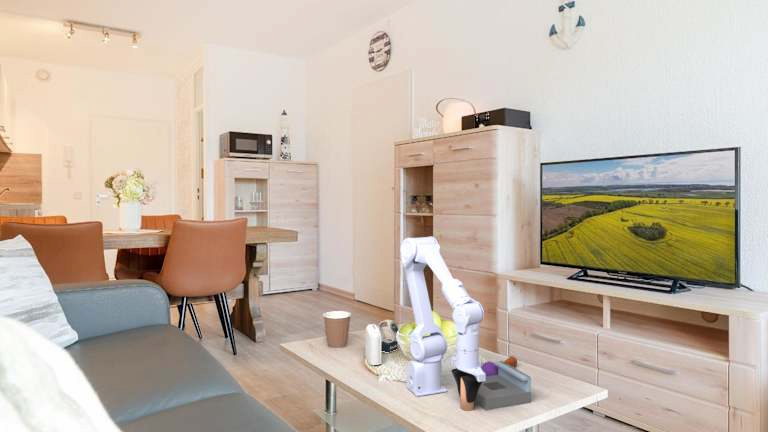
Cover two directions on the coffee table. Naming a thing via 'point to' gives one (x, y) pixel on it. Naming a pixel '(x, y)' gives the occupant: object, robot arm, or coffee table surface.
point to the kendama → (492, 369)
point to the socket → (504, 388)
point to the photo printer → (373, 344)
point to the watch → (386, 343)
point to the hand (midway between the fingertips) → (467, 399)
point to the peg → (463, 402)
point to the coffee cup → (337, 328)
